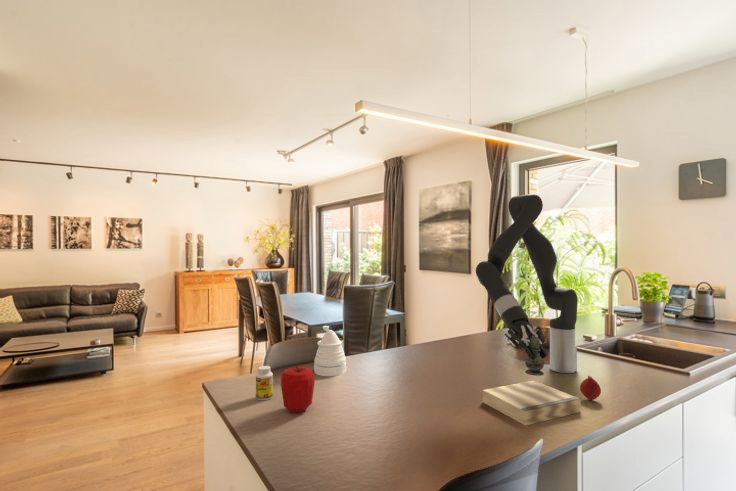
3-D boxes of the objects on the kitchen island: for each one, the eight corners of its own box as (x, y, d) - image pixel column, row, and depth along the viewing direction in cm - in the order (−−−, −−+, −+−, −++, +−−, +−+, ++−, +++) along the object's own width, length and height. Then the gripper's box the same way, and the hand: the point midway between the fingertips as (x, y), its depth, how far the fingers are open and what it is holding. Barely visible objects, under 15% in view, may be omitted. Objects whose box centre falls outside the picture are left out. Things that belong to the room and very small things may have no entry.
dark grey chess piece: (547, 376, 118) (547, 336, 118) (526, 375, 120) (526, 335, 120) (542, 370, 124) (542, 332, 124) (522, 369, 125) (522, 331, 125)
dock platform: (533, 391, 136) (533, 379, 136) (580, 412, 120) (580, 398, 120) (482, 402, 127) (482, 389, 127) (525, 425, 111) (525, 410, 111)
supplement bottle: (252, 400, 130) (252, 369, 130) (261, 394, 136) (261, 364, 136) (267, 402, 129) (267, 370, 129) (276, 395, 134) (276, 365, 134)
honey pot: (308, 374, 157) (308, 328, 157) (323, 364, 169) (323, 322, 169) (337, 377, 152) (337, 331, 152) (351, 368, 164) (351, 324, 164)
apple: (298, 419, 115) (298, 373, 115) (273, 412, 121) (273, 367, 121) (321, 407, 124) (321, 364, 124) (297, 400, 130) (296, 359, 130)
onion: (598, 398, 130) (598, 373, 130) (602, 404, 125) (602, 379, 125) (578, 396, 132) (578, 372, 132) (582, 402, 127) (581, 377, 127)
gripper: (499, 306, 126) (529, 354, 115) (532, 303, 131) (564, 348, 120) (488, 319, 131) (515, 367, 120) (520, 316, 136) (549, 361, 125)
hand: (539, 357), depth 120 cm, fingers closed on dark grey chess piece, 3 cm apart
